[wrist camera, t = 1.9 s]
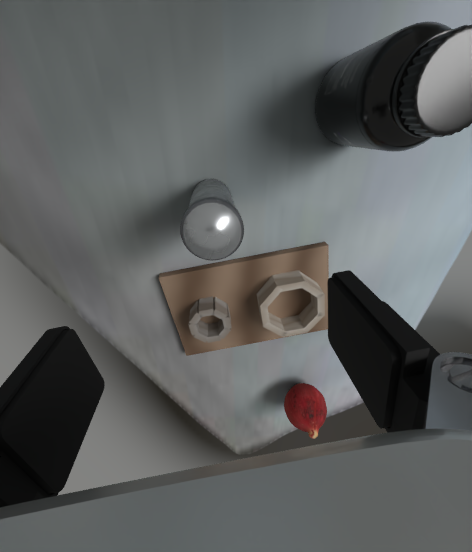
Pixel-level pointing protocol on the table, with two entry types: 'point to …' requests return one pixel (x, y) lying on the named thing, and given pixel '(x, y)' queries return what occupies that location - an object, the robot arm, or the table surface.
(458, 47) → the supplement bottle
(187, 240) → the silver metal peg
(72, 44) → the table surface
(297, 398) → the onion
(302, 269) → the fitting board
